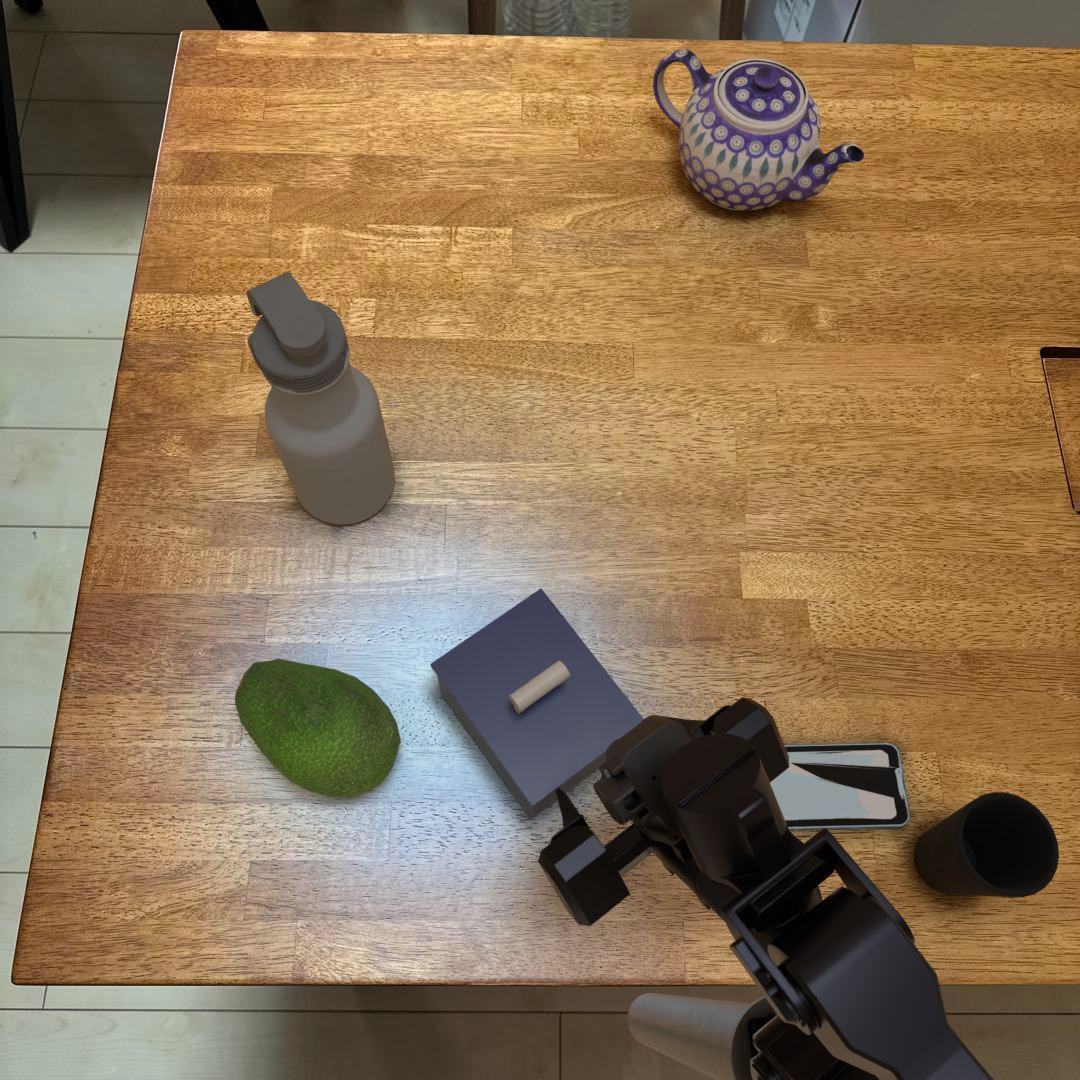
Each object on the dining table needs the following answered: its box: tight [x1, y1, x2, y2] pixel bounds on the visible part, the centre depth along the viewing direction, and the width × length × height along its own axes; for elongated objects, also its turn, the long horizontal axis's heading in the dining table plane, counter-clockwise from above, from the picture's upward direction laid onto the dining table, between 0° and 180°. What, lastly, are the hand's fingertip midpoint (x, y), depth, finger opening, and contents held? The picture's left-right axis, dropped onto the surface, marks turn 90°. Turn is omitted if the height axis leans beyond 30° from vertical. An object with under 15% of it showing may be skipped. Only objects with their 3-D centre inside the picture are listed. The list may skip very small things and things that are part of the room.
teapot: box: [652, 48, 865, 211], centre depth 110 cm, size 25×15×15 cm, turn 51°
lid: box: [429, 588, 644, 808], centre depth 83 cm, size 14×12×4 cm
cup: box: [912, 791, 1060, 898], centre depth 82 cm, size 8×8×12 cm
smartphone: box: [770, 741, 911, 831], centre depth 89 cm, size 7×1×15 cm
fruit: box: [234, 658, 402, 798], centre depth 86 cm, size 15×10×10 cm, turn 55°
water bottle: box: [245, 271, 396, 526], centre depth 87 cm, size 10×10×28 cm
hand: (607, 756), depth 77 cm, fingers open, 9 cm apart
